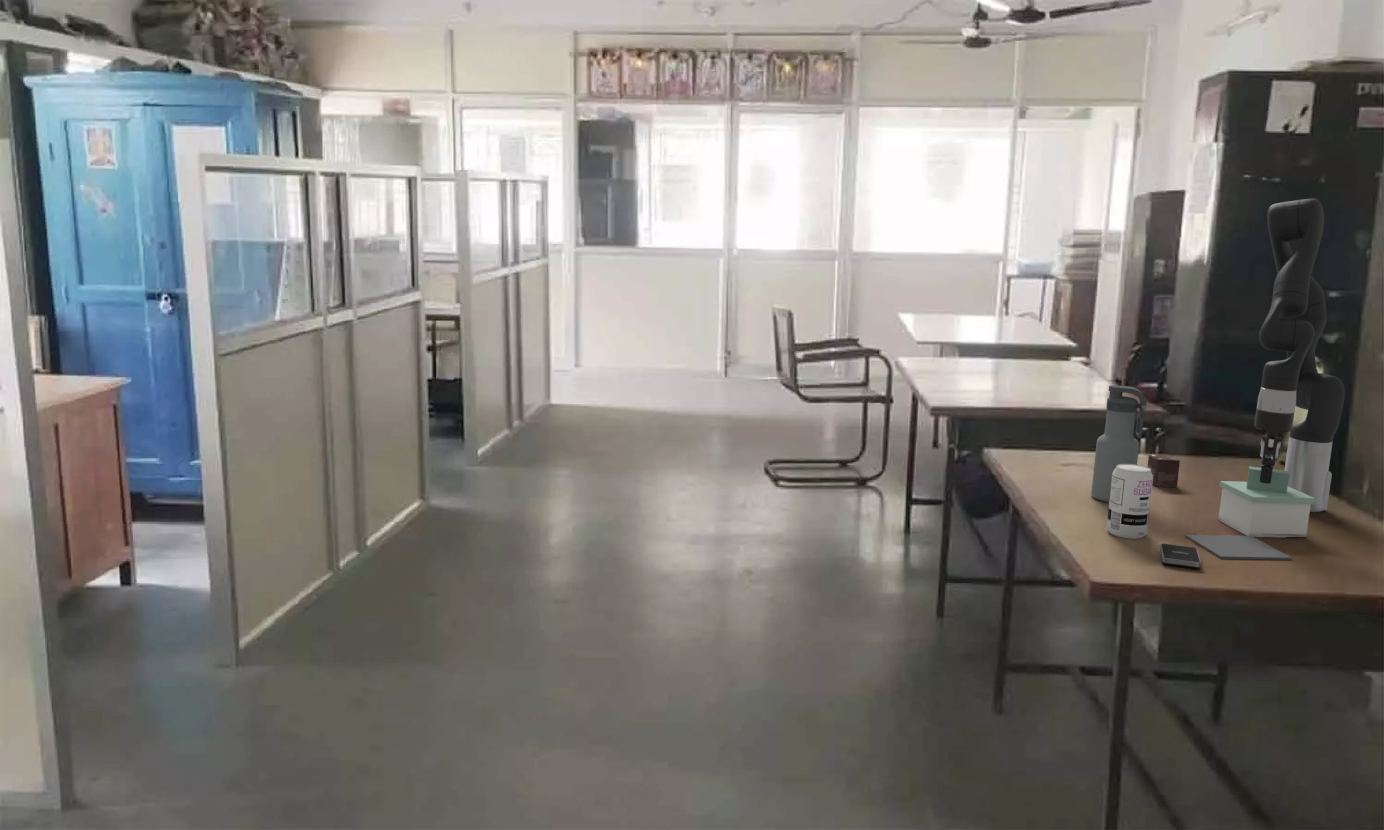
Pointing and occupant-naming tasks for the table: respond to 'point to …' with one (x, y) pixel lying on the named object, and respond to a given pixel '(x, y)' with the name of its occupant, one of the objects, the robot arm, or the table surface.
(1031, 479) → the table surface
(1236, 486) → the lid
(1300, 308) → the robot arm
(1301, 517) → the storage box
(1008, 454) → the table surface
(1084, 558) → the table surface
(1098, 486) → the water bottle
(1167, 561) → the external hard drive
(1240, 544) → the mat
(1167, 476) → the box
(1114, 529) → the supplement can
